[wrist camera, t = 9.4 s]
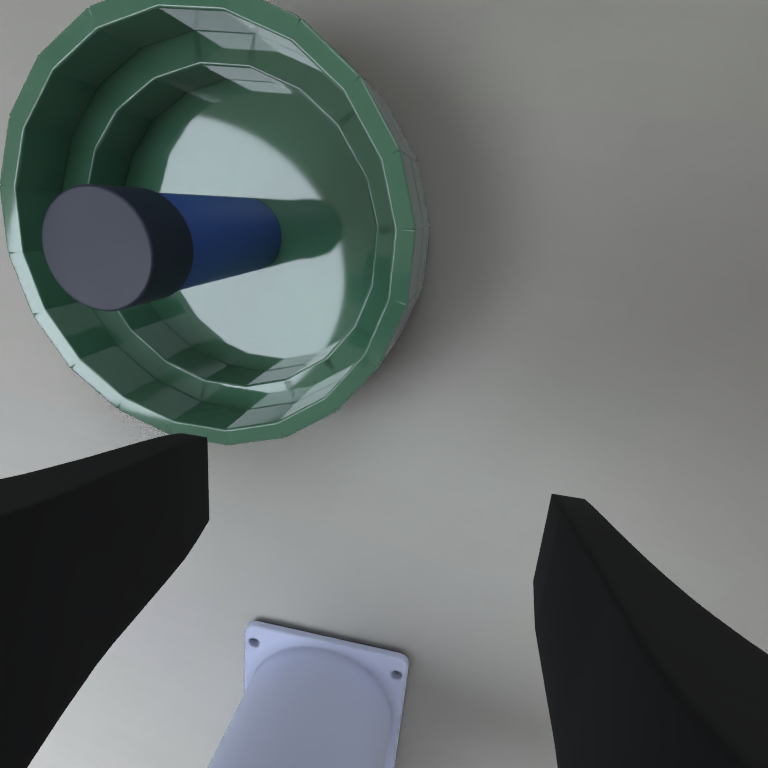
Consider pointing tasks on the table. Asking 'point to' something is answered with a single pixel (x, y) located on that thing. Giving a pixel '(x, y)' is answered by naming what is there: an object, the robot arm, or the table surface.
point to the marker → (151, 242)
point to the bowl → (232, 179)
